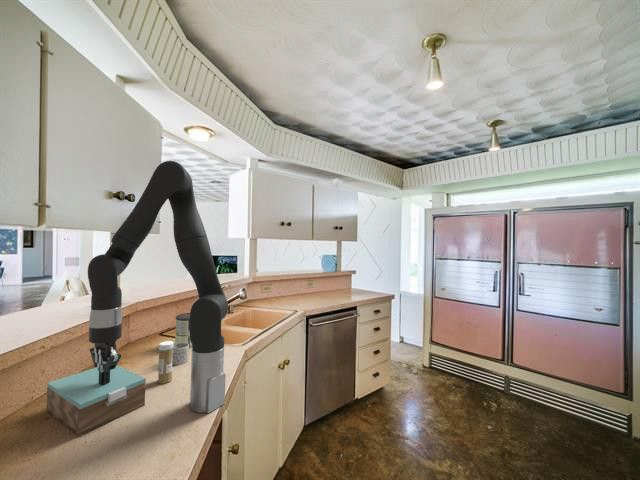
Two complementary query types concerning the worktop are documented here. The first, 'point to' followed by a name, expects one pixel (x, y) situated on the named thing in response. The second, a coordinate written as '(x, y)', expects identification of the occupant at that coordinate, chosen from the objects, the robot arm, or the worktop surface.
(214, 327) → the robot arm
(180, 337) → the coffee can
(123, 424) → the worktop surface
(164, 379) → the sprinkles bottle
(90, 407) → the storage box
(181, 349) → the mug
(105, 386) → the lid
